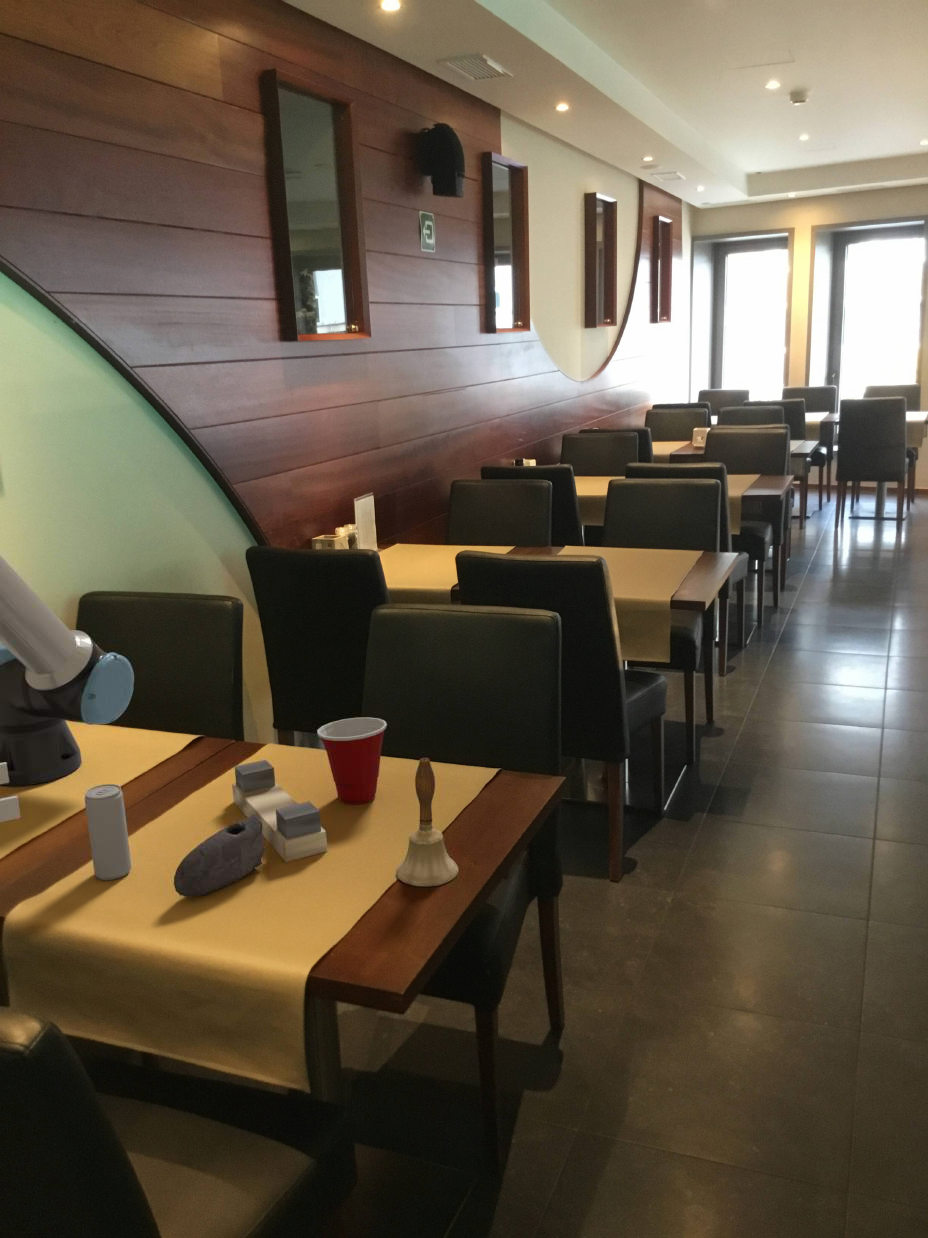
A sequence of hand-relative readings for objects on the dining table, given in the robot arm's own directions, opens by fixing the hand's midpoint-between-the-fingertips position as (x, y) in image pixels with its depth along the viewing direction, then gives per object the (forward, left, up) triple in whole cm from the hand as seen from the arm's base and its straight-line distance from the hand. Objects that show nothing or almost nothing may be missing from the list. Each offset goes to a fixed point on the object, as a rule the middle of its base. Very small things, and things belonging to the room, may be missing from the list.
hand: (13, 788), depth 130 cm
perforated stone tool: (+13, +23, -14) cm, 30 cm away
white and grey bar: (+1, +35, -14) cm, 37 cm away
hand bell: (+26, +47, -14) cm, 55 cm away
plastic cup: (-2, +49, -14) cm, 51 cm away
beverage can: (+3, +11, -14) cm, 18 cm away
